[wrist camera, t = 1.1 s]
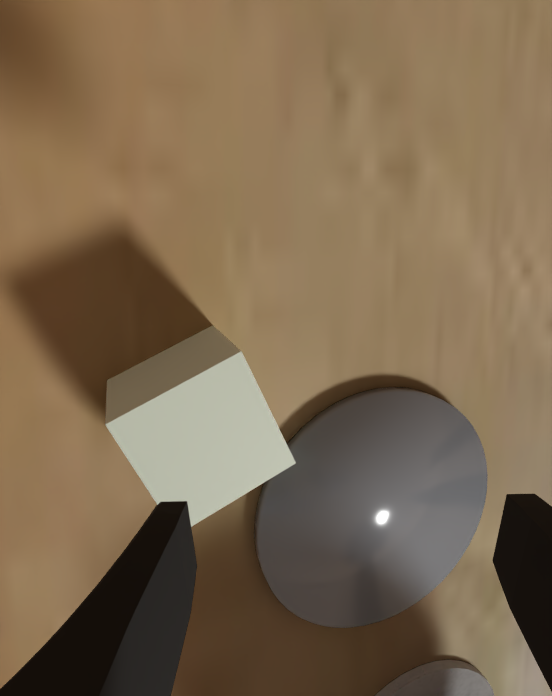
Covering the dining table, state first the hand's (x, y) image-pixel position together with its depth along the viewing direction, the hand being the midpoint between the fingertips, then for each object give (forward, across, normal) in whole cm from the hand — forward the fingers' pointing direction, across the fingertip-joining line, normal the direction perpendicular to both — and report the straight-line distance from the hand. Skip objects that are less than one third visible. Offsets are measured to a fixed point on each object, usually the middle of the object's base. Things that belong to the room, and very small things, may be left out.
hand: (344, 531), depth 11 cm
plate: (+12, -3, +11) cm, 16 cm away
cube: (+10, +6, +2) cm, 12 cm away
